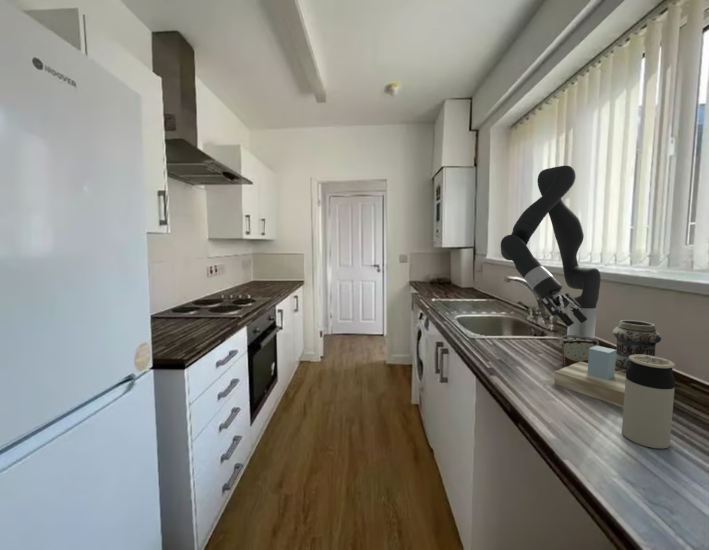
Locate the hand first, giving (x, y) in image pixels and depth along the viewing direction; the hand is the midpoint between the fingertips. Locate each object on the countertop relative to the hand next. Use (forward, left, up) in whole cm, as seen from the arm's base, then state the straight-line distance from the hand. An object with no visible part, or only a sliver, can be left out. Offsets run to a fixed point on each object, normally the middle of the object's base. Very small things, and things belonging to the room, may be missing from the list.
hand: (578, 323), depth 103 cm
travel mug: (+21, +24, -19) cm, 37 cm away
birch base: (0, +7, -18) cm, 20 cm away
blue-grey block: (0, +7, -14) cm, 16 cm away
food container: (-15, -7, -19) cm, 25 cm away
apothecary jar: (-18, +9, -19) cm, 27 cm away
